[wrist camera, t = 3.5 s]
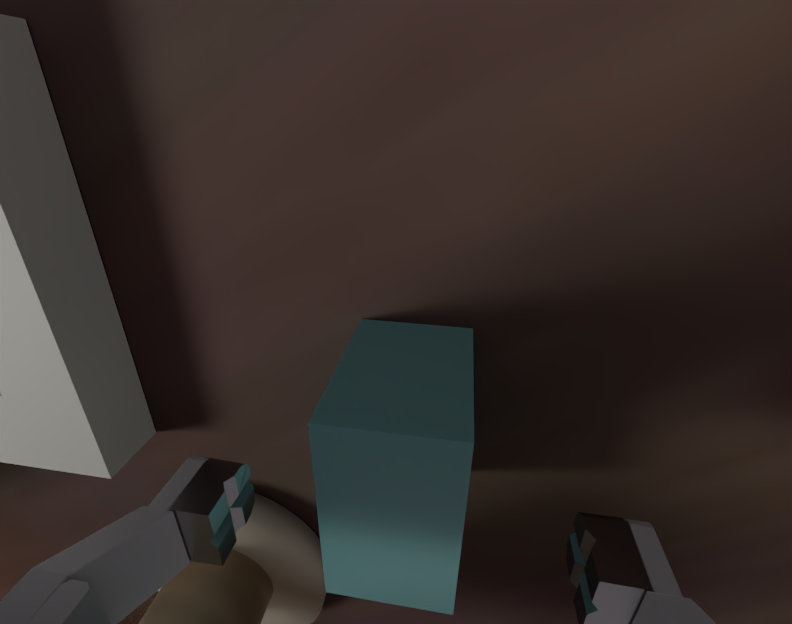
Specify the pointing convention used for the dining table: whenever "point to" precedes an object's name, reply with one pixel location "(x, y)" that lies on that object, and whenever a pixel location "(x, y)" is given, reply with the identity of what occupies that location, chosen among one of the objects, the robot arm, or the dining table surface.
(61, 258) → the board
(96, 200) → the dining table surface
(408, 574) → the teal rectangular block
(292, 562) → the door knob
